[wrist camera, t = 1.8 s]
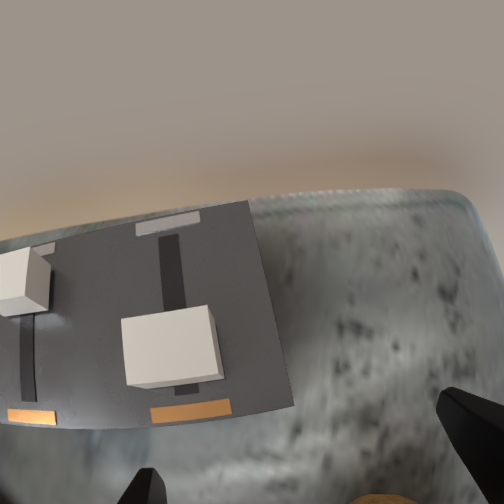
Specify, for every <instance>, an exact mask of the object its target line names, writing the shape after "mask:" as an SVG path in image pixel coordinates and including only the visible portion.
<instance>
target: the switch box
mask: <svg viewBox="0 0 504 504" xmlns="http://www.w3.org/2000/svg"><path fill="white" fill-rule="evenodd" d="M31 248H32V249H33V250H34V251H35V252H37V253H38V254H39V255H40V256H41V257H42V258H43V259H44V260H46V261H47V262H48V263H49V264H50V265H51V272H50V286H49V306H48V310H46V311H40V312H33V313H26V314H19V315H12V316H5V317H4V316H2V315H0V423H5V424H13V425H22V426H33V427H46V428H65V429H127V428H147V427H161V426H172V425H183V424H192V423H200V422H208V421H215V420H222V419H229V418H235V417H241V416H247V415H252V414H258V413H263V412H268V411H273V410H278V409H282V408H287V407H291V406H295V405H294V401H293V396H292V392H291V387H290V383H289V379H288V374H287V370H286V365H285V361H284V356H283V352H282V347H281V343H280V339H279V334H278V330H277V325H276V321H275V317H274V312H273V308H272V303H271V299H270V295H269V290H268V286H267V282H266V277H265V273H264V269H263V264H262V260H261V256H260V251H259V247H258V243H257V238H256V234H255V230H254V225H253V221H252V217H251V213H250V208H249V204H248V200H247V201H241V202H235V203H229V204H224V205H218V206H213V207H207V208H202V209H197V210H191V211H186V212H181V213H176V214H171V215H166V216H161V217H156V218H151V219H147V220H142V221H137V222H132V223H128V224H123V225H119V226H114V227H110V228H105V229H101V230H97V231H92V232H88V233H84V234H80V235H75V236H71V237H67V238H63V239H59V240H55V241H51V242H47V243H43V244H39V245H35V246H32V247H31ZM204 305H207V306H208V308H209V310H210V312H211V314H212V316H213V318H214V320H215V326H216V332H217V338H218V344H219V350H220V355H221V361H222V366H223V372H224V377H225V378H224V379H218V380H212V381H205V382H198V383H191V384H184V385H176V386H167V387H158V388H149V389H145V388H140V387H135V386H130V385H127V381H126V372H125V363H124V352H123V340H122V327H121V319H123V318H130V317H137V316H143V315H150V314H156V313H162V312H168V311H174V310H180V309H186V308H192V307H198V306H204Z"/></svg>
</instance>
